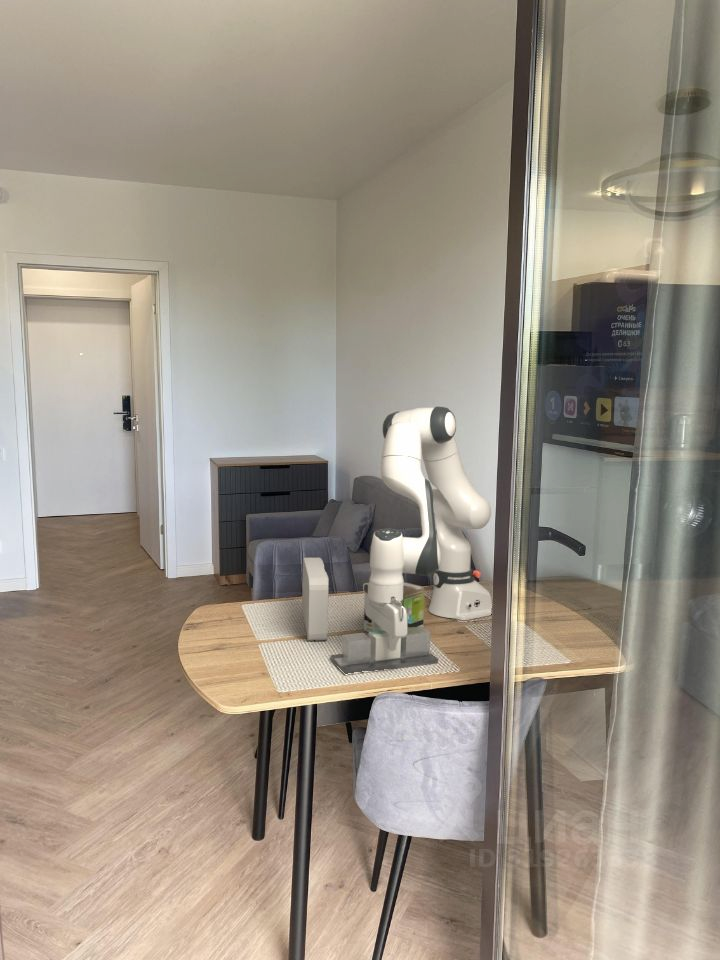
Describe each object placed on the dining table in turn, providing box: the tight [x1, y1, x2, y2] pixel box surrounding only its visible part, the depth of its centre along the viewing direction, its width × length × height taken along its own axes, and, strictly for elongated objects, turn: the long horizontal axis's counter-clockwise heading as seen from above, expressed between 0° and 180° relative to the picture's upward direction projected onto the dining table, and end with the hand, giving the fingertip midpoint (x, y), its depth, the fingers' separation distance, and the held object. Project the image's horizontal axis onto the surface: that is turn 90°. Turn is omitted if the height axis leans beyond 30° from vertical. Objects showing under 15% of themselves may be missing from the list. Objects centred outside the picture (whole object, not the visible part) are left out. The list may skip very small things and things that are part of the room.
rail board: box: [329, 625, 439, 674], centre depth 192 cm, size 26×11×8 cm, turn 111°
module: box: [368, 630, 401, 661], centre depth 192 cm, size 7×5×6 cm
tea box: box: [363, 581, 425, 633], centre depth 213 cm, size 15×10×15 cm
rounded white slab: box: [301, 557, 330, 642], centre depth 218 cm, size 29×8×18 cm, turn 8°
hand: (384, 643), depth 192 cm, fingers open, 8 cm apart
